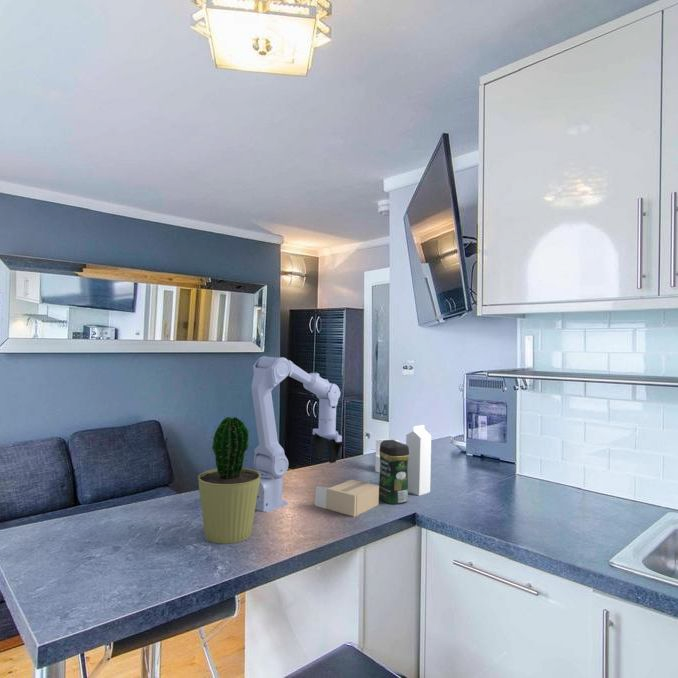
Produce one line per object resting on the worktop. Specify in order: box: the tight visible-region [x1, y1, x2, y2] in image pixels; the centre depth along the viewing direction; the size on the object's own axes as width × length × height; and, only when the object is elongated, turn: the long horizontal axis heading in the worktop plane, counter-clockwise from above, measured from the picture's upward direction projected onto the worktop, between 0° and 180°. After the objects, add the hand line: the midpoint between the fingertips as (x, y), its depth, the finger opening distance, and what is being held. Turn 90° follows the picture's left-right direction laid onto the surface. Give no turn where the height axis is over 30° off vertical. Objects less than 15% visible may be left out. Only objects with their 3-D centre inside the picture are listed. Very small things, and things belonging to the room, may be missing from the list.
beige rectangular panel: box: [314, 484, 357, 518], centre depth 138 cm, size 1×14×6 cm, turn 54°
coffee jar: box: [378, 439, 409, 505], centre depth 149 cm, size 10×8×19 cm
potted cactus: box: [197, 416, 261, 545], centre depth 120 cm, size 15×15×30 cm
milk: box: [405, 424, 432, 497], centre depth 158 cm, size 6×6×22 cm
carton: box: [330, 479, 380, 517], centre depth 142 cm, size 12×10×6 cm
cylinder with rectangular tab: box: [374, 437, 400, 474], centre depth 183 cm, size 9×9×12 cm
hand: (326, 460), depth 158 cm, fingers open, 7 cm apart
